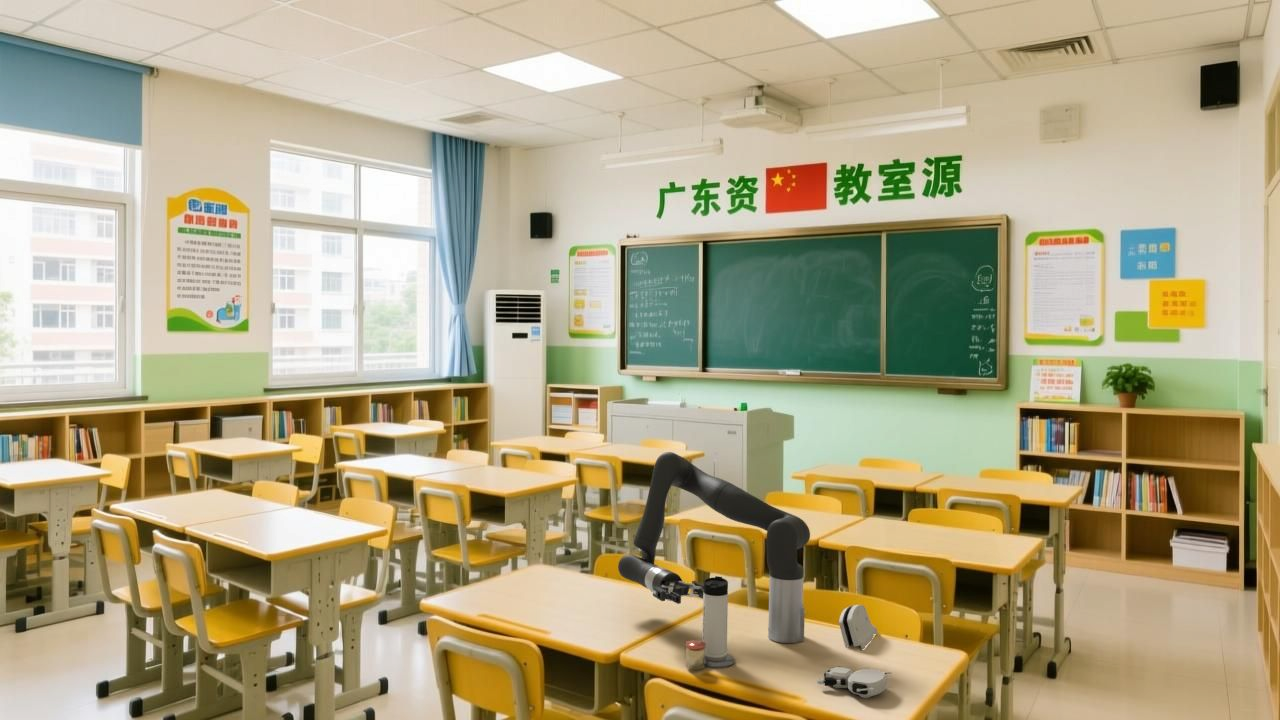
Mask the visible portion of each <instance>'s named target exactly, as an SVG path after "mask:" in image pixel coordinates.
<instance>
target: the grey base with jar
mask: <svg viewBox="0 0 1280 720" xmlns="http://www.w3.org/2000/svg"><path fill="white" fill-rule="evenodd" d="M685 647H686V662H685V663H686V668H687V669H690V670H696V671H698V670H702V669H704V668H709V669H725V668H729V667H732V666H734V664H735V657H734V655H732V654H731V653H727V658H726V659H725V660H724V661H720V662H711V661H708V658H707V656H706V655H704V652H705V647H706V643H705V642H703V641H702V640H698V639H695V640H693V639H691V640H687V641H686V642H685Z"/></svg>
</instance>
